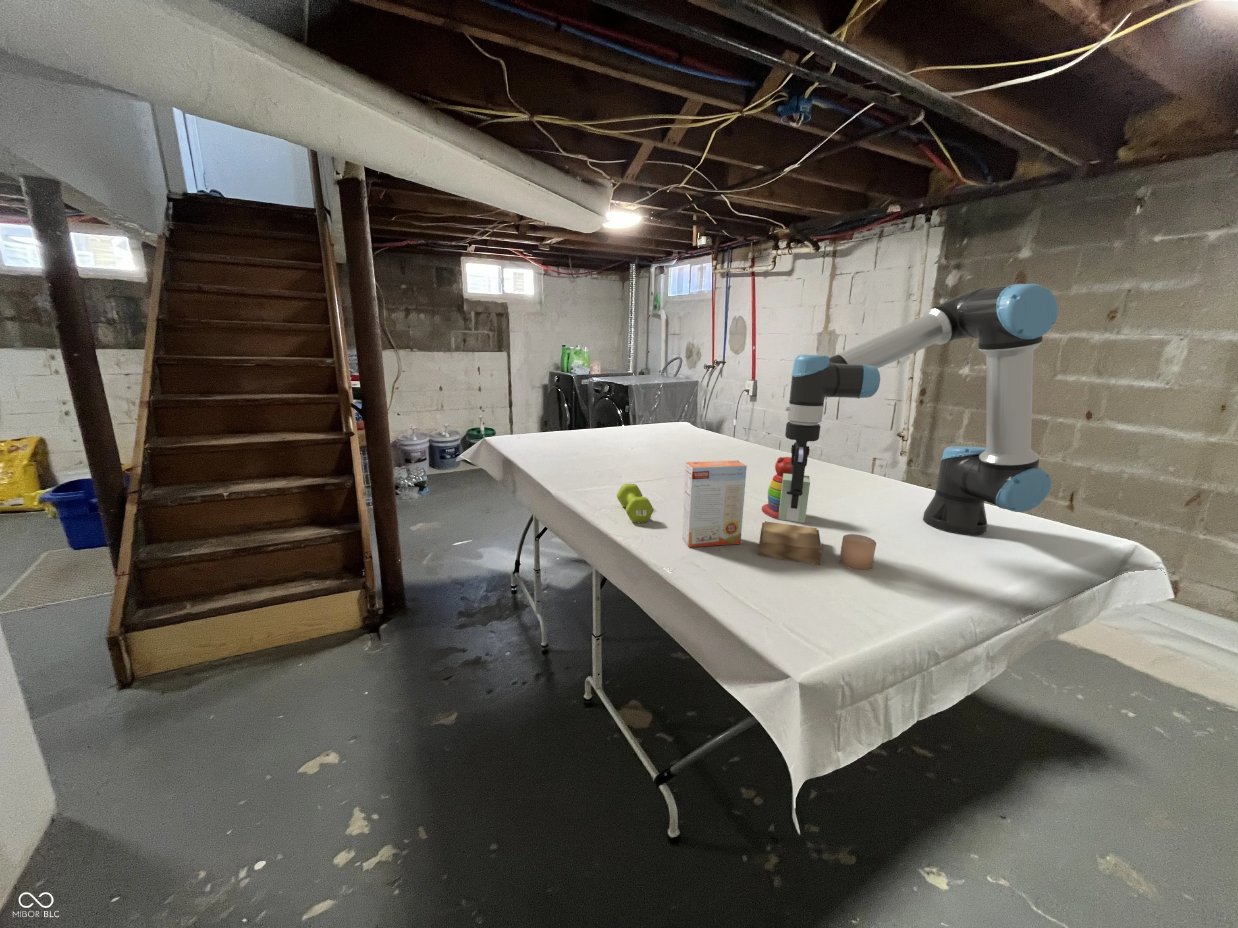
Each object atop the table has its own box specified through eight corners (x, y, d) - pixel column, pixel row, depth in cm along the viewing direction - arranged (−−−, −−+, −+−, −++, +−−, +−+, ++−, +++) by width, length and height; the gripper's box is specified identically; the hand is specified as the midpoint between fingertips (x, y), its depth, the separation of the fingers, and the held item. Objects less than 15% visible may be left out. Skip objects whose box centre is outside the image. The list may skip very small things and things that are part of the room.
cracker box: (731, 535, 128) (738, 459, 123) (741, 545, 123) (748, 465, 117) (680, 538, 126) (685, 460, 121) (687, 547, 120) (692, 466, 115)
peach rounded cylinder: (869, 559, 116) (873, 536, 114) (874, 572, 110) (878, 548, 108) (838, 555, 118) (841, 532, 117) (840, 567, 112) (844, 543, 110)
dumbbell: (654, 523, 136) (655, 499, 134) (626, 525, 134) (627, 500, 133) (640, 504, 151) (641, 482, 150) (615, 505, 150) (616, 483, 148)
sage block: (804, 514, 121) (809, 476, 118) (804, 522, 115) (810, 482, 113) (779, 511, 123) (783, 473, 120) (778, 519, 117) (783, 479, 115)
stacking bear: (795, 509, 149) (802, 453, 145) (804, 521, 139) (812, 462, 135) (760, 507, 150) (765, 452, 146) (766, 519, 140) (772, 460, 136)
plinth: (817, 542, 125) (819, 527, 124) (820, 564, 113) (822, 549, 112) (761, 534, 130) (762, 520, 129) (757, 555, 117) (759, 540, 116)
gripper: (786, 415, 123) (777, 501, 129) (786, 427, 106) (774, 526, 111) (818, 417, 121) (807, 505, 127) (823, 430, 103) (809, 531, 109)
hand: (792, 515), depth 119 cm, fingers closed on sage block, 6 cm apart
